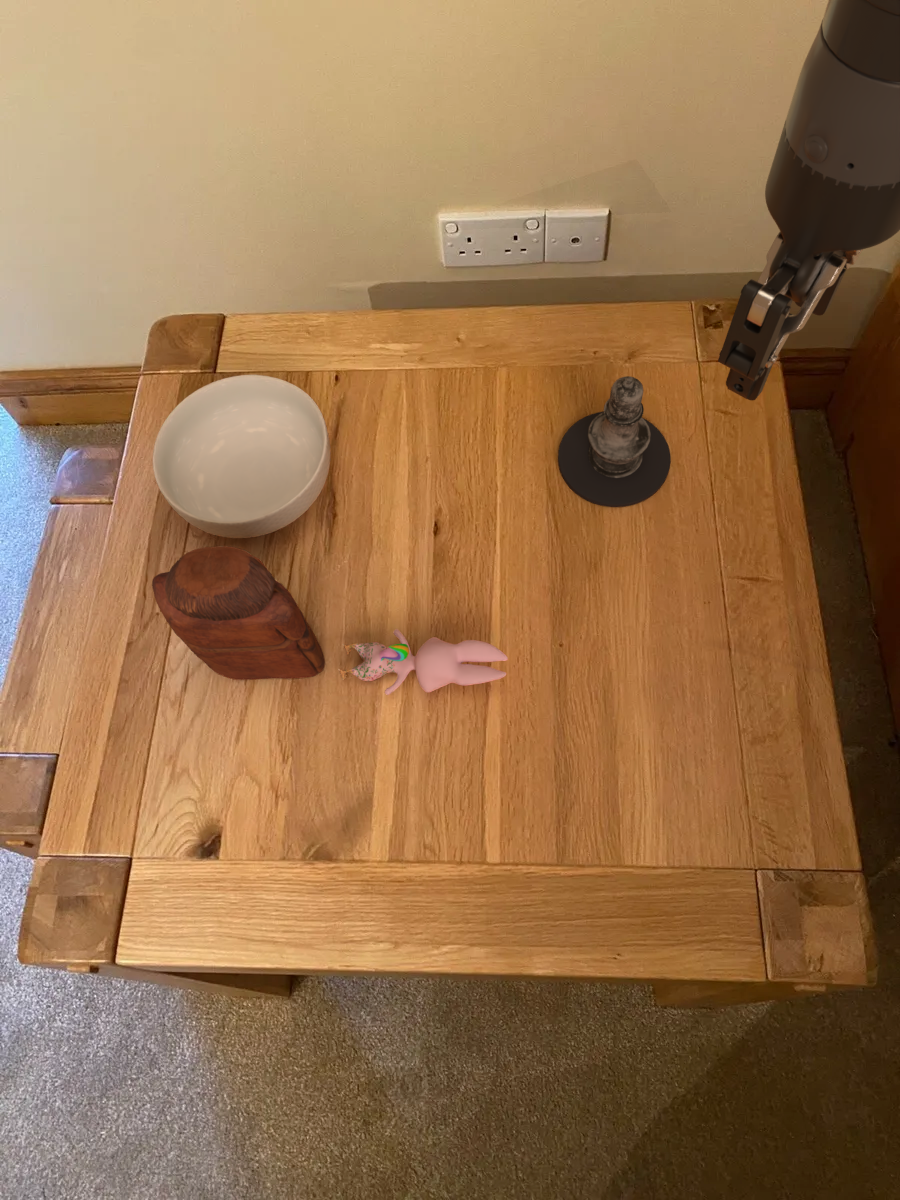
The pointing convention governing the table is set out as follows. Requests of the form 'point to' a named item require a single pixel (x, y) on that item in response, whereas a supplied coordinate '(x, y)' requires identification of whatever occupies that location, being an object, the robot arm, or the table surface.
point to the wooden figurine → (237, 616)
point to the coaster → (608, 488)
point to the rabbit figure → (427, 662)
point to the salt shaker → (619, 431)
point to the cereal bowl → (243, 456)
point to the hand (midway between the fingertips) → (776, 348)
